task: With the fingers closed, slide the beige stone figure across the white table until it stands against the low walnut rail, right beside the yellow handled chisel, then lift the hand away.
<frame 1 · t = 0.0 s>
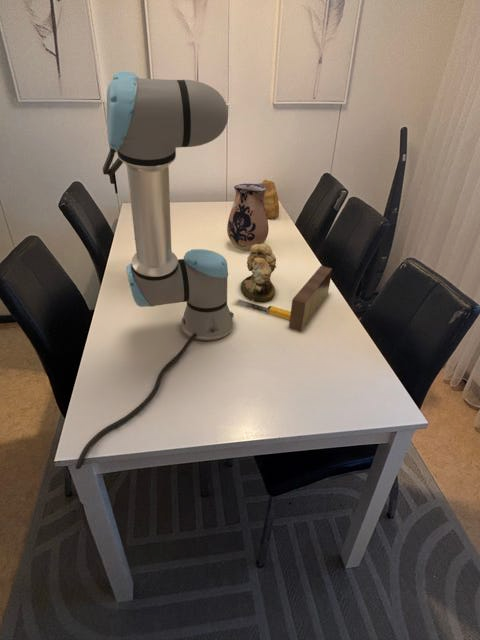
hand: (136, 190, 137), 28 cm above the table, tool tilted 20°, fingers open, 13 cm apart
walnut rail: (309, 309, 127), on the table
beige stone figure: (257, 290, 137), on the table
yellow handled chisel: (264, 310, 126), on the table
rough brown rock: (261, 213, 207), on the table
ceramic pitcher: (248, 245, 170), on the table
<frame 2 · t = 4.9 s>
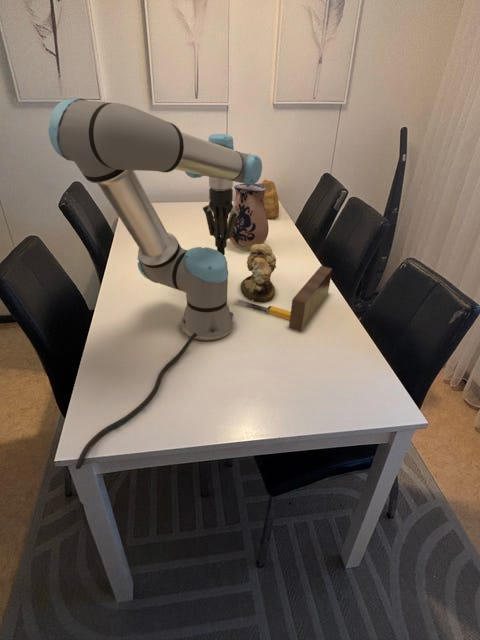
hand: (220, 255, 138), 9 cm above the table, tool pointing down, fingers closed
nothing on the table moved.
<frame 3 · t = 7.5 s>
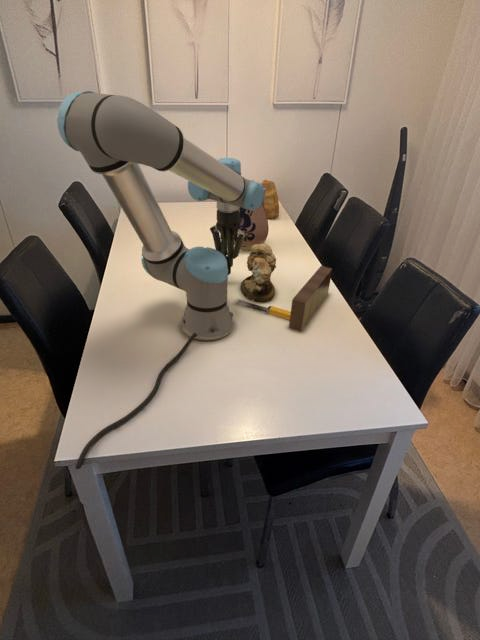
hand: (227, 274, 140), 3 cm above the table, tool pointing down, fingers closed
nothing on the table moved.
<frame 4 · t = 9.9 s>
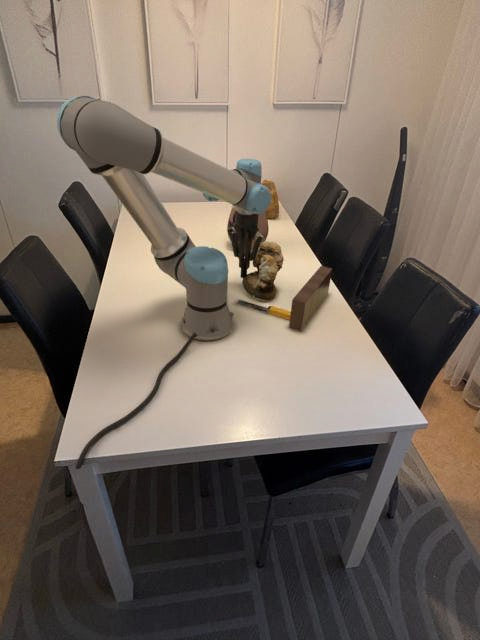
hand: (243, 276, 138), 3 cm above the table, tool pointing down, fingers closed
beige stone figure: (258, 287, 136), point 1 cm above the table, touching gripper, hand
everything else where it was.
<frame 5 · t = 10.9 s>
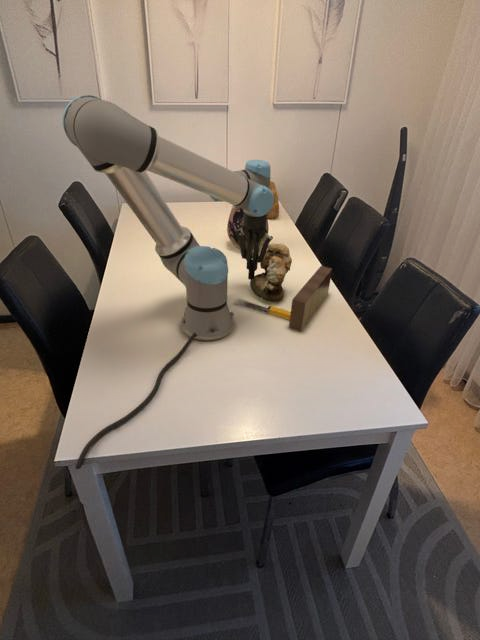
hand: (251, 277, 137), 3 cm above the table, tool pointing down, fingers closed
beige stone figure: (265, 289, 136), point 1 cm above the table, touching gripper, hand
everything else where it was.
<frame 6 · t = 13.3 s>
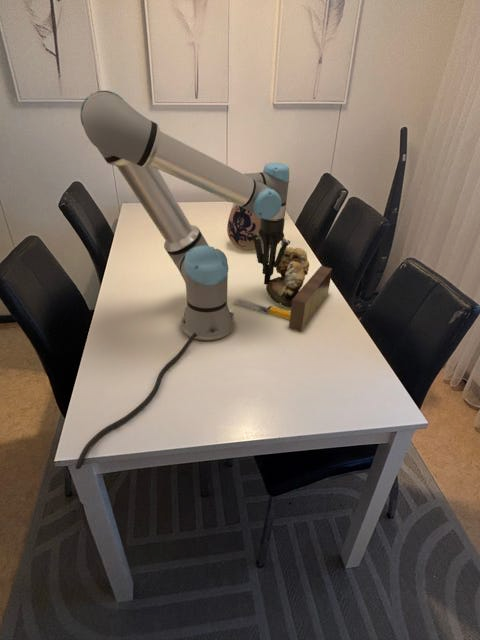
hand: (267, 282, 135), 3 cm above the table, tool pointing down, fingers closed
beige stone figure: (282, 294, 133), point 1 cm above the table, touching gripper, hand
everything else where it was.
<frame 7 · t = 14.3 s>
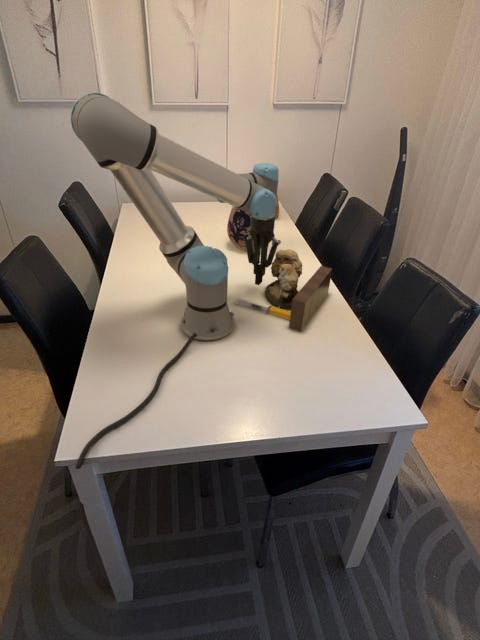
hand: (258, 283, 135), 3 cm above the table, tool pointing down, fingers closed
beige stone figure: (281, 296, 134), on the table
everything else where it was.
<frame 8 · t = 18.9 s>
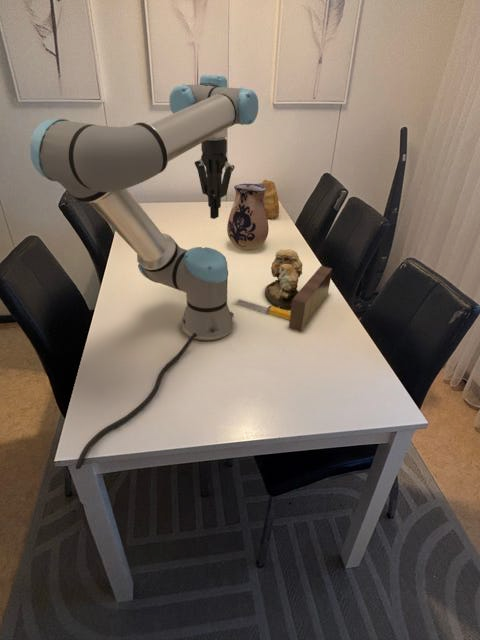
hand: (214, 217, 126), 24 cm above the table, tool pointing down, fingers closed
nothing on the table moved.
at the end: beige stone figure inside the target area (0.5 cm from its centre), on the table; beige stone figure tilted 0° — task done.
